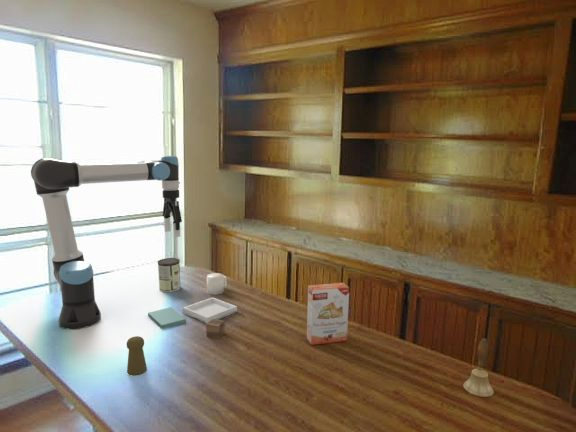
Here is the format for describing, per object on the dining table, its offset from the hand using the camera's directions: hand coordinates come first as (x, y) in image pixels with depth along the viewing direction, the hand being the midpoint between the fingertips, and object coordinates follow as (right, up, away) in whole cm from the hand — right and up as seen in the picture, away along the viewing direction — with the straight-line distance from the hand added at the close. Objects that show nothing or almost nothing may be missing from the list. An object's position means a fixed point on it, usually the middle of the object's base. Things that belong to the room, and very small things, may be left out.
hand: (172, 234), depth 204 cm
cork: (+7, -41, -67) cm, 79 cm away
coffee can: (-3, -27, +7) cm, 28 cm away
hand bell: (+111, -43, -76) cm, 141 cm away
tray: (+22, -32, -22) cm, 45 cm away
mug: (+20, -28, +3) cm, 34 cm away
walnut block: (+28, -36, -42) cm, 62 cm away
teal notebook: (+5, -34, -28) cm, 45 cm away
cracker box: (+69, -37, -46) cm, 91 cm away
